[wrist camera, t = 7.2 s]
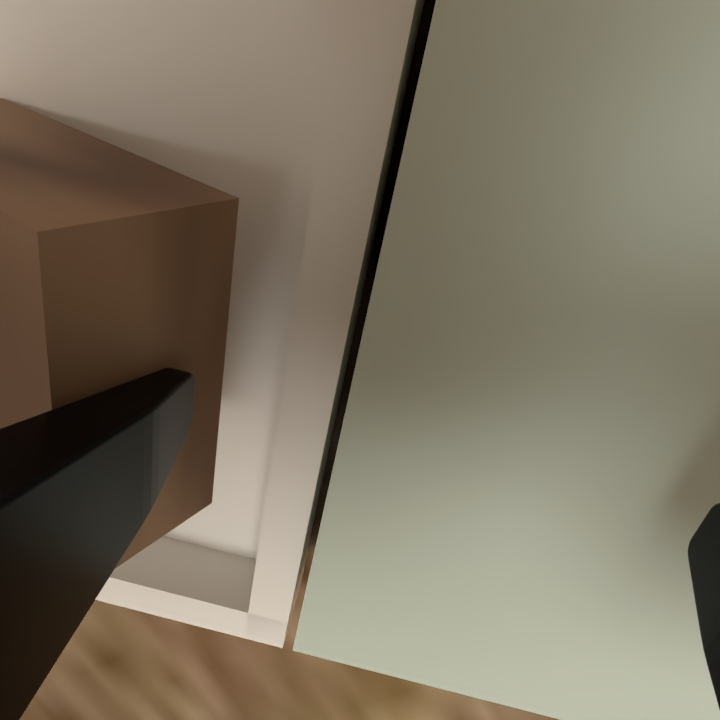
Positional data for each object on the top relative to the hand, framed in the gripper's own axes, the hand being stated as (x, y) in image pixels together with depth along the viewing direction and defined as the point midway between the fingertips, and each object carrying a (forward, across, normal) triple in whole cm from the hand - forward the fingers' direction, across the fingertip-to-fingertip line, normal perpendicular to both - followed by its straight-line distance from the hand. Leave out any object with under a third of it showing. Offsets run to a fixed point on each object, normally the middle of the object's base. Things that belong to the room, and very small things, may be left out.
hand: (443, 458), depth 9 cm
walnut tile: (+2, +6, 0) cm, 7 cm away
